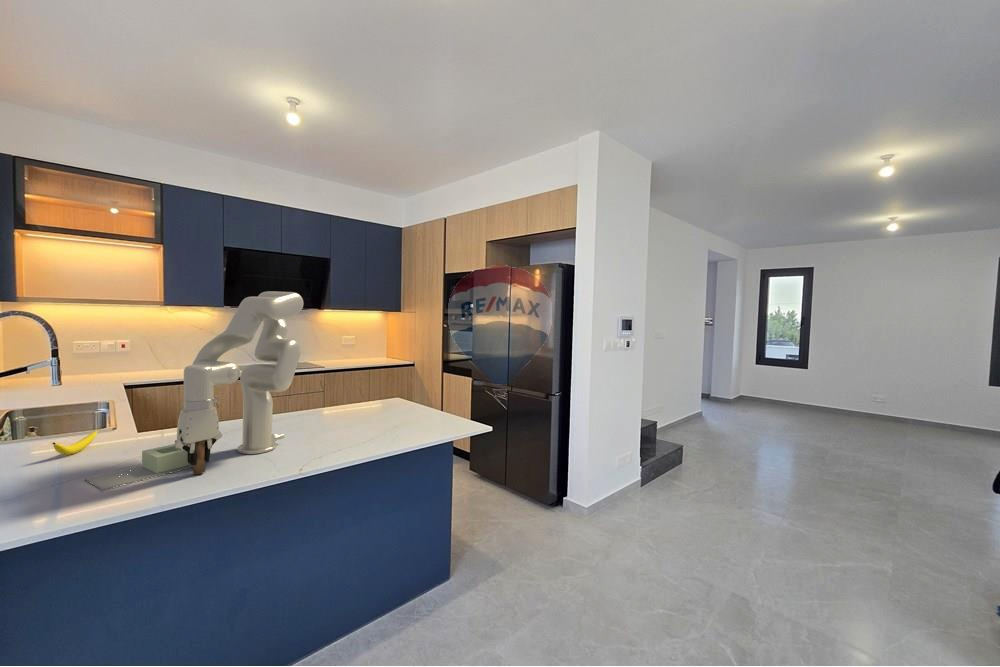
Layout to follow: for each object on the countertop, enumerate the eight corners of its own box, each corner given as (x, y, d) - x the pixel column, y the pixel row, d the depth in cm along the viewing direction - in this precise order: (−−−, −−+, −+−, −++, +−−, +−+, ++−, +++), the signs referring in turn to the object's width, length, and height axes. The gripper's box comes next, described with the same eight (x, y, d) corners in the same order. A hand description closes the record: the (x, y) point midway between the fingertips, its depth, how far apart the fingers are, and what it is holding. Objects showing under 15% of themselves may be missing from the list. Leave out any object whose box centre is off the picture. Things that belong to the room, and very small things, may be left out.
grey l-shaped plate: (181, 455, 145) (181, 438, 144) (204, 465, 137) (204, 447, 137) (83, 479, 123) (83, 459, 122) (104, 491, 115) (104, 470, 115)
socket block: (178, 457, 142) (178, 443, 141) (193, 463, 137) (193, 448, 136) (142, 466, 133) (142, 450, 133) (156, 473, 128) (157, 457, 128)
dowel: (201, 469, 132) (201, 438, 132) (206, 471, 131) (206, 440, 130) (191, 472, 130) (191, 441, 129) (196, 474, 128) (196, 443, 128)
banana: (102, 443, 153) (102, 426, 153) (58, 462, 135) (58, 442, 134) (93, 443, 153) (93, 426, 152) (47, 462, 134) (47, 442, 134)
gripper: (220, 398, 138) (220, 452, 139) (161, 407, 124) (162, 468, 125) (233, 401, 134) (233, 457, 135) (174, 411, 120) (174, 473, 121)
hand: (199, 462), depth 130 cm, fingers closed on dowel, 3 cm apart
